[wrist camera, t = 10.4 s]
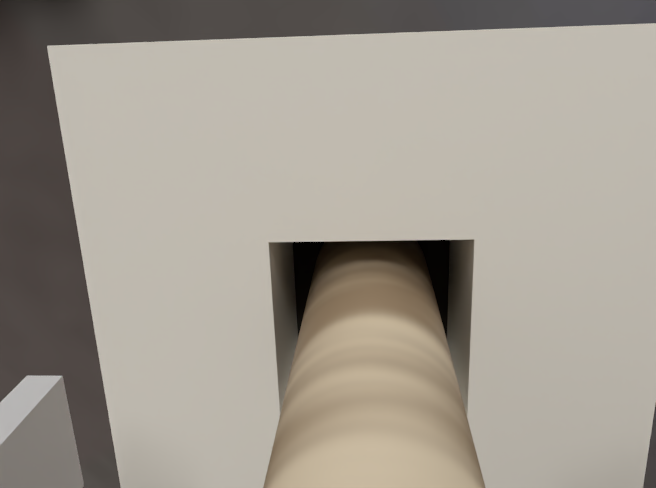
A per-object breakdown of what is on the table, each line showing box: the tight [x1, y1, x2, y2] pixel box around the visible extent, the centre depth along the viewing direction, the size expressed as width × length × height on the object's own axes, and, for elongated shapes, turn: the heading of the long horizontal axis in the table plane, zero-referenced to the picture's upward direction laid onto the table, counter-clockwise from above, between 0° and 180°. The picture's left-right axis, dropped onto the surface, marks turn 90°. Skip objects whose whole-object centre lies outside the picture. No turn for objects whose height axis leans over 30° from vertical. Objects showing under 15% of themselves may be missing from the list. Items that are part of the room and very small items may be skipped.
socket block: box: [47, 23, 656, 488], centre depth 20 cm, size 16×16×5 cm
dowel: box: [263, 240, 485, 488], centre depth 15 cm, size 4×4×16 cm
